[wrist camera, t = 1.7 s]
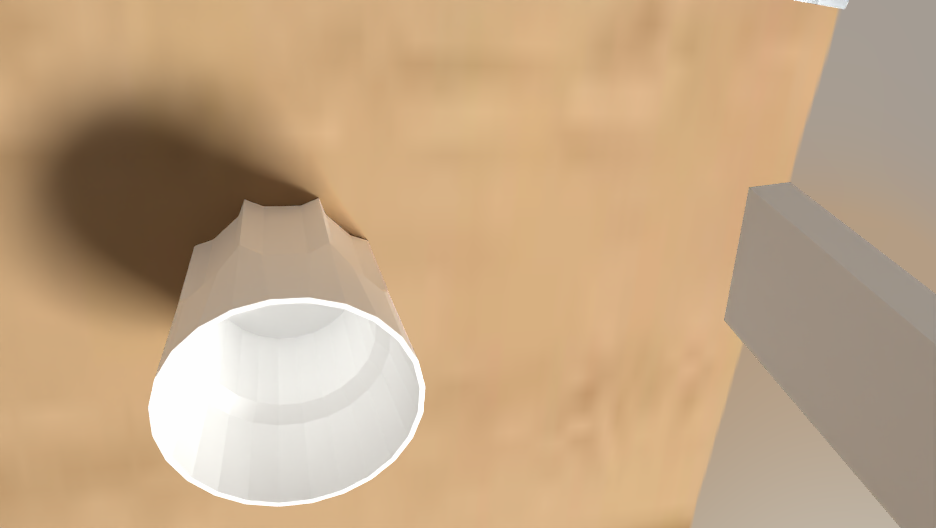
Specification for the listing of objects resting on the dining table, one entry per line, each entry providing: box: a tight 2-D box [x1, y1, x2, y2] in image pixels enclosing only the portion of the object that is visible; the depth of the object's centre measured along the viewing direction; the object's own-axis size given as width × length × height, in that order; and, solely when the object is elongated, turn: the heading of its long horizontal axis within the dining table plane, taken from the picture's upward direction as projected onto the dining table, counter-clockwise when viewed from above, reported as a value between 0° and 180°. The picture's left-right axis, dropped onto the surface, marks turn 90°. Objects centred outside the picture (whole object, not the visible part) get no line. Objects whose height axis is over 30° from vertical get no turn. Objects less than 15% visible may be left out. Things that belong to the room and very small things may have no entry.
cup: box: [148, 198, 425, 507], centre depth 34 cm, size 10×10×10 cm
